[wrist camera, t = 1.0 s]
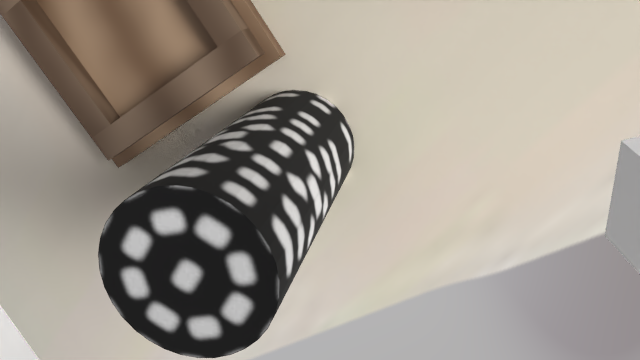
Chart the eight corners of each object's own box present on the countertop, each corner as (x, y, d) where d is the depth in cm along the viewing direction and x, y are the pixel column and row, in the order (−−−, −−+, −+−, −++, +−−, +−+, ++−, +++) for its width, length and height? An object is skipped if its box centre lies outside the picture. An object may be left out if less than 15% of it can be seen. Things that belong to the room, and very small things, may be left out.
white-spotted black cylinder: (277, 67, 43) (142, 146, 24) (376, 131, 43) (316, 258, 24) (226, 159, 46) (72, 291, 27) (317, 218, 46) (225, 389, 28)
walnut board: (150, -155, 39) (128, -163, 37) (285, 54, 42) (274, 60, 40) (-3, -14, 45) (-30, -12, 42) (126, 162, 48) (107, 174, 45)
